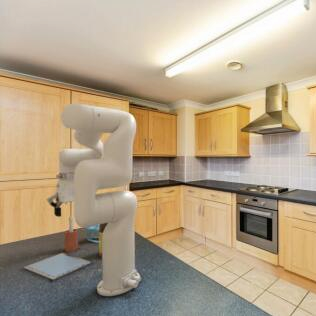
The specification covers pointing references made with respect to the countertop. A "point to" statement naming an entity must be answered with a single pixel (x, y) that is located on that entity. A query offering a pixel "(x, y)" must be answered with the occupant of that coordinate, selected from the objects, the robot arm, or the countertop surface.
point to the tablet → (57, 266)
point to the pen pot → (71, 240)
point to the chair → (95, 229)
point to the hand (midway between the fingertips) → (70, 213)
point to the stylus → (70, 224)
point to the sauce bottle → (101, 229)
